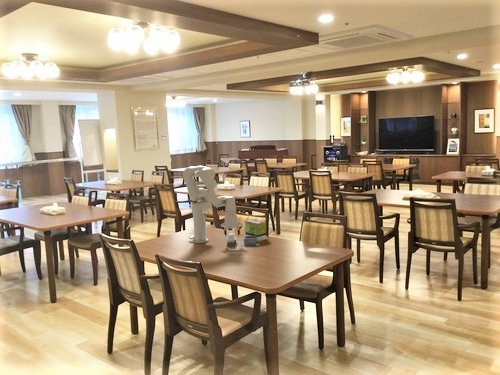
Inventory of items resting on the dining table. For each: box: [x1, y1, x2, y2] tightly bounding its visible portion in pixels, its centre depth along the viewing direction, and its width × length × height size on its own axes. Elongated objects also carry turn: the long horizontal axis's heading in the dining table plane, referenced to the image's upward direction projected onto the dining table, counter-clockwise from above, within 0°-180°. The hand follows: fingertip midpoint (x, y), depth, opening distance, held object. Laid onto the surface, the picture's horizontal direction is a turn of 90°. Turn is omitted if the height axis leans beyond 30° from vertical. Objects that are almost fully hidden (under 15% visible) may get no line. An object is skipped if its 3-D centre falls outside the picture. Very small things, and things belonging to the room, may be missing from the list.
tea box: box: [244, 218, 267, 242], centre depth 353 cm, size 15×10×15 cm, turn 43°
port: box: [240, 235, 261, 248], centre depth 336 cm, size 14×12×6 cm
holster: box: [225, 239, 238, 248], centre depth 335 cm, size 8×9×4 cm
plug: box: [228, 232, 236, 242], centre depth 334 cm, size 4×4×9 cm
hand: (232, 235), depth 333 cm, fingers open, 9 cm apart
